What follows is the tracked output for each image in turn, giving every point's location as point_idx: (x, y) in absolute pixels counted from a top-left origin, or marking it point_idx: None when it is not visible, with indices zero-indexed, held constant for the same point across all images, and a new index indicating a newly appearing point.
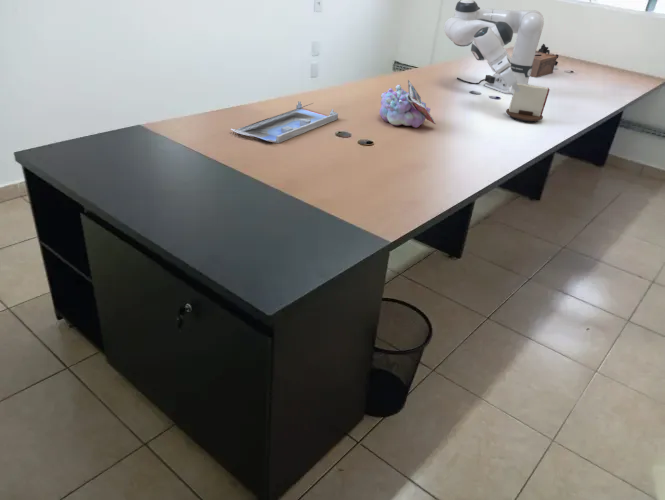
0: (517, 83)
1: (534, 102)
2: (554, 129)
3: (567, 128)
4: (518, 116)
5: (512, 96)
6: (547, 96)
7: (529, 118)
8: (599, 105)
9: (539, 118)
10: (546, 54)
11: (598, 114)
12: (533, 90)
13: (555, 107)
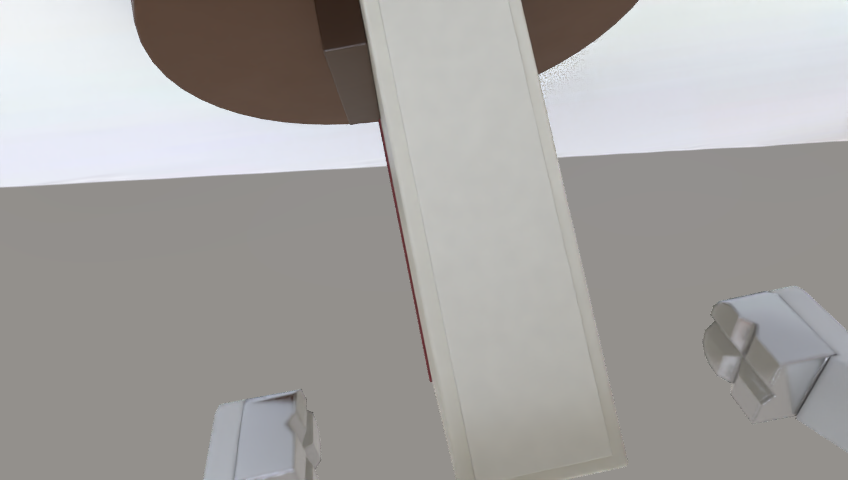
0: (580, 470)
1: (401, 222)
2: (229, 135)
3: (332, 150)
4: (149, 16)
5: (481, 174)
6: (416, 311)
7: (204, 89)
8: (805, 125)
9: (303, 121)
10: None
11: (667, 144)
12: (430, 366)
13: (817, 59)
